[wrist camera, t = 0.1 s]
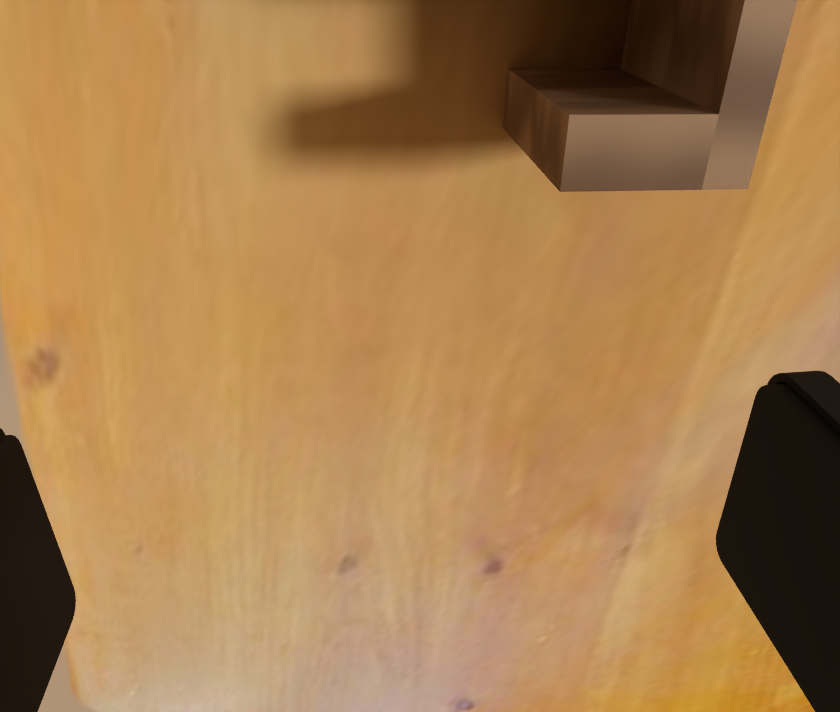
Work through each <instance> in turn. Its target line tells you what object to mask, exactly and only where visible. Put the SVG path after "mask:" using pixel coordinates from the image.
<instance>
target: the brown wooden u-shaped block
mask: <svg viewBox="0 0 840 712" xmlns="http://www.w3.org/2000/svg"><path fill="white" fill-rule="evenodd" d="M796 2H797V0H631V4H630V10H629V17H628V23H627V30H626V36H625V43H624V49H623V56H622V62H621V69H508V75H507V88H506V101H505V114H504V127H503V128H504V130H505V131H506V132H507V133H508V134H509V135H510V136H511V137H512V138H513V140H514V141H515V142H516V143H517V144H518V145H519V146H520V147H521V149H522V150H523V151H524V152H525V153H526V154H527V155H528V156H529V158H530V159H531V160H532V161H533V162H534V163H535V164H536V165H537V166H538V168H539V169H540V170H541V171H542V172H543V173H544V174H545V175H546V177H547V178H548V179H549V180H550V181H551V182H552V183H553V184H554V186H555V187H556V188H557V189H558V190H559V191H560V192H571V191H641V190H711V189H748V186H749V182H750V178H751V175H752V171H753V167H754V163H755V159H756V155H757V152H758V148H759V144H760V140H761V136H762V132H763V129H764V125H765V121H766V117H767V113H768V110H769V106H770V102H771V98H772V94H773V90H774V87H775V83H776V79H777V75H778V71H779V67H780V64H781V60H782V56H783V52H784V48H785V44H786V41H787V37H788V33H789V29H790V25H791V22H792V18H793V14H794V10H795V6H796Z"/></svg>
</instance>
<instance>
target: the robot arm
mask: <svg viewBox="0 0 840 712" xmlns="http://www.w3.org/2000/svg"><path fill="white" fill-rule="evenodd" d="M716 546H717V551H718V554H719V557H720V559H721V561H722V563H723V565H724V566H725V568H726V570H727V571H728V573H729V574H730V576H731V578H732V579H733V581H734V582H735V584H736V586H737V587H738V589H739V590H740V592H741V594H742V595H743V597H744V598H745V600H746V602H747V603H748V605H749V606H750V608H751V610H752V611H753V613H754V614H755V616H756V618H757V619H758V621H759V622H760V624H761V626H762V627H763V629H764V630H765V632H766V634H767V635H768V637H769V638H770V640H771V641H772V643H773V645H774V646H775V648H776V649H777V651H778V653H779V654H780V656H781V657H782V659H783V661H784V662H785V664H786V665H787V667H788V669H789V670H790V672H791V673H792V675H793V677H794V678H795V680H796V681H797V683H798V685H799V686H800V688H801V689H802V691H803V693H804V694H805V696H806V697H807V699H808V701H809V702H810V704H811V705H812V707H813V709H814V710H815V712H840V383H839V382H837V381H836V380H835V379H834V378H833V377H832V376H830V375H829V374H827V373H825V372H823V371H808V372H792V373H779V374H776V375H774V376H773V377H772V378H771V379H770V380H769V382H768V384H767V385H765V386H762V387H761V388H760V389H759V390H758V392H757V394H756V396H755V400H754V403H753V407H752V410H751V414H750V418H749V421H748V425H747V428H746V432H745V435H744V439H743V442H742V446H741V449H740V453H739V456H738V460H737V463H736V467H735V470H734V474H733V477H732V481H731V484H730V488H729V491H728V495H727V498H726V502H725V505H724V509H723V512H722V516H721V519H720V523H719V527H718V530H717V535H716ZM75 602H76V599H75V591H74V587H73V584H72V581H71V579H70V576H69V573H68V571H67V568H66V565H65V562H64V560H63V557H62V554H61V551H60V549H59V546H58V543H57V541H56V538H55V535H54V532H53V530H52V527H51V524H50V522H49V519H48V516H47V513H46V511H45V508H44V505H43V503H42V500H41V497H40V494H39V492H38V489H37V486H36V484H35V481H34V478H33V475H32V473H31V470H30V467H29V465H28V462H27V459H26V456H25V454H24V451H23V448H22V446H21V444H20V442H19V440H18V439H17V438H16V437H15V436H13V435H5V434H4V432H3V430H2V429H1V428H0V712H37V711H38V709H39V706H40V704H41V701H42V699H43V696H44V693H45V691H46V688H47V685H48V683H49V680H50V677H51V675H52V672H53V670H54V667H55V665H56V662H57V659H58V657H59V654H60V652H61V649H62V646H63V644H64V641H65V638H66V636H67V633H68V631H69V628H70V625H71V623H72V620H73V616H74V612H75Z"/></svg>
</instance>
